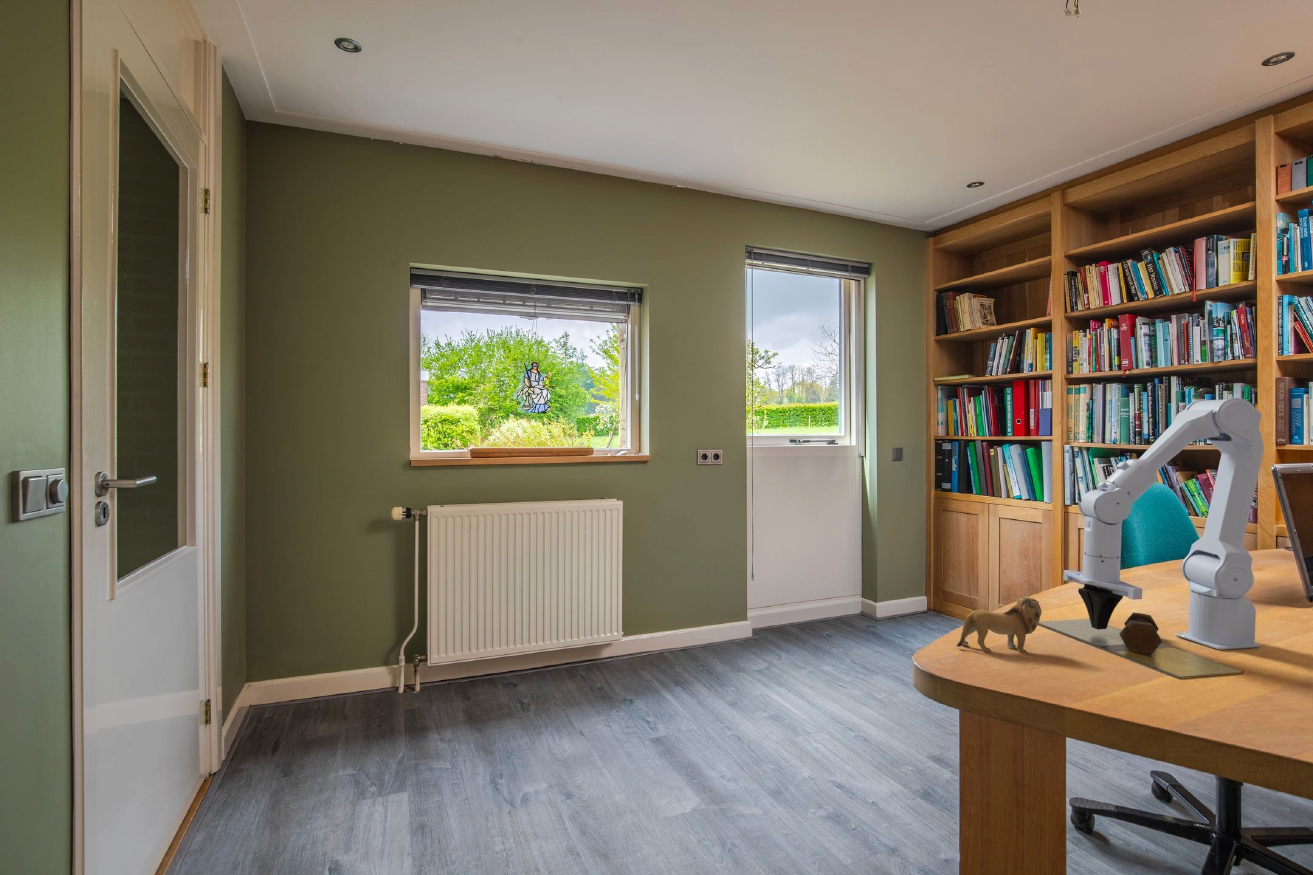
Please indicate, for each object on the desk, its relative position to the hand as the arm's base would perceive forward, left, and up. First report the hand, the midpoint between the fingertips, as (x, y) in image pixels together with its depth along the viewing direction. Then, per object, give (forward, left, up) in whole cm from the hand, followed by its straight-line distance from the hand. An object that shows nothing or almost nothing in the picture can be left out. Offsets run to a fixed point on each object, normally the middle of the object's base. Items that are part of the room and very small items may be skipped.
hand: (1099, 628), depth 121 cm
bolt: (-3, +6, -1) cm, 7 cm away
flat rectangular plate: (0, +6, -1) cm, 6 cm away
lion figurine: (+24, +3, -2) cm, 25 cm away
